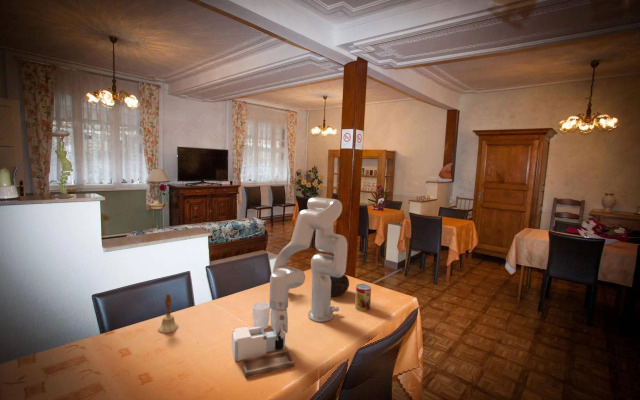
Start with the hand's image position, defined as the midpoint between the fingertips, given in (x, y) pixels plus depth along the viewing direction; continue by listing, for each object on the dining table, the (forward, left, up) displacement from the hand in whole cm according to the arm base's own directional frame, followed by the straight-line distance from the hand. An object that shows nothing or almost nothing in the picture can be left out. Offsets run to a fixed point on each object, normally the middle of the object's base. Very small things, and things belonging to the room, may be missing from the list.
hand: (277, 345), depth 128 cm
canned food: (-52, -20, -1) cm, 56 cm away
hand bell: (+42, -31, -1) cm, 52 cm away
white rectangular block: (+4, 0, -1) cm, 5 cm away
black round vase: (-46, -43, -1) cm, 63 cm away
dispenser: (+12, 0, -1) cm, 12 cm away
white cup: (+3, -19, -1) cm, 19 cm away
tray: (+7, +10, -1) cm, 12 cm away
